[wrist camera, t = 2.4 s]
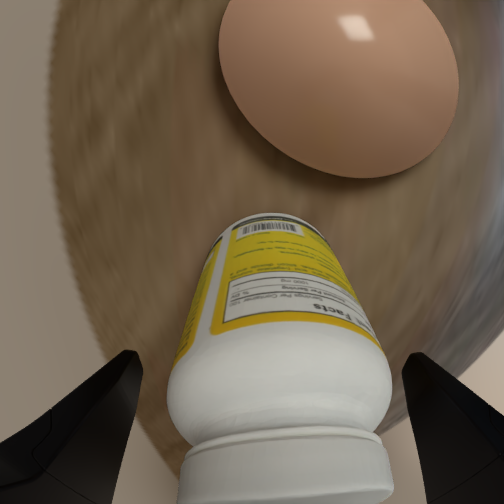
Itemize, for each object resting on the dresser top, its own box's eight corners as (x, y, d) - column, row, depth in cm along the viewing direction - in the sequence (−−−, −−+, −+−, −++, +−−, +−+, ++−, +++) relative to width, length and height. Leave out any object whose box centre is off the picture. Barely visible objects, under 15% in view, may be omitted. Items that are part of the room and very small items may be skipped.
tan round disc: (478, 109, 9) (487, 110, 9) (325, 221, 13) (329, 227, 12) (354, -58, 6) (359, -65, 5) (170, 37, 9) (164, 32, 8)
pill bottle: (258, 336, 16) (256, 532, 6) (181, 259, 14) (87, 483, 4) (354, 278, 14) (442, 483, 4) (285, 181, 12) (385, 442, 2)
